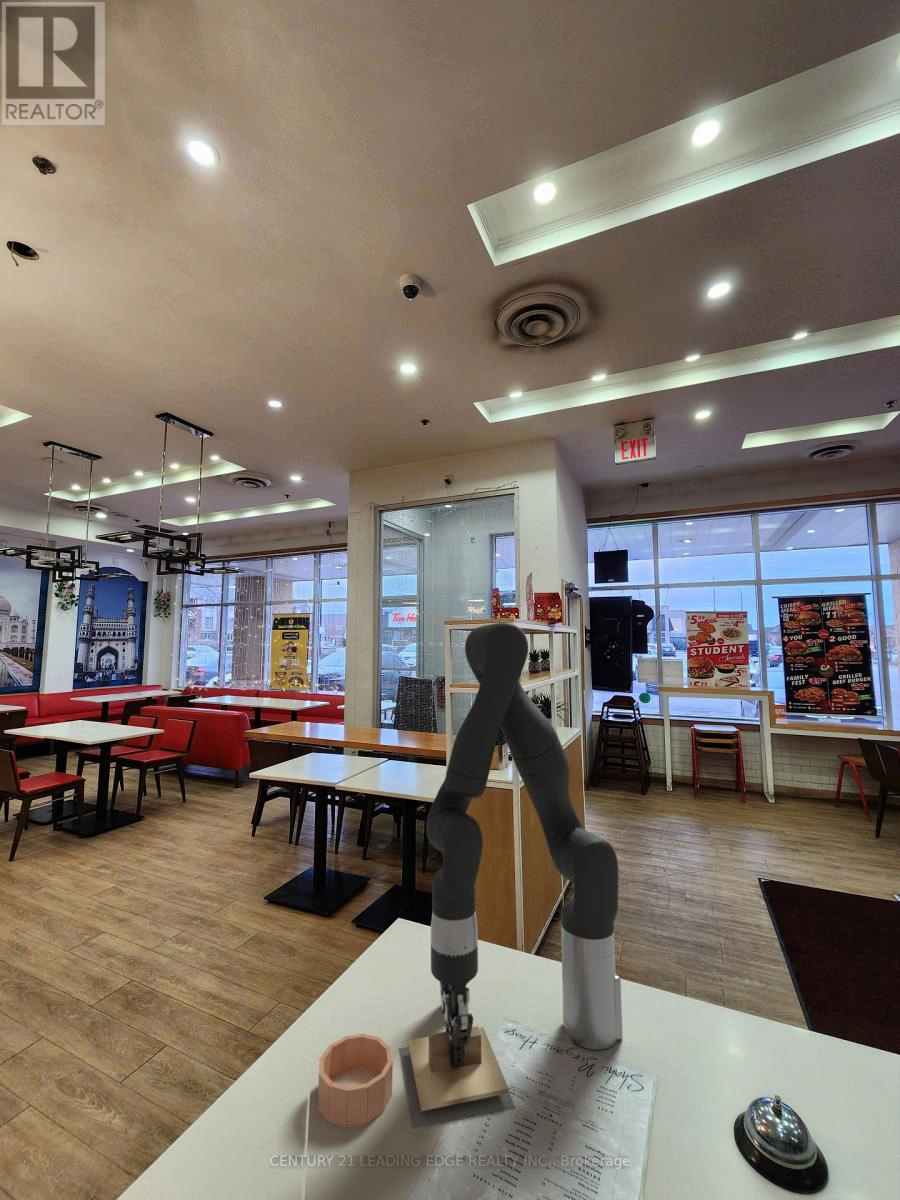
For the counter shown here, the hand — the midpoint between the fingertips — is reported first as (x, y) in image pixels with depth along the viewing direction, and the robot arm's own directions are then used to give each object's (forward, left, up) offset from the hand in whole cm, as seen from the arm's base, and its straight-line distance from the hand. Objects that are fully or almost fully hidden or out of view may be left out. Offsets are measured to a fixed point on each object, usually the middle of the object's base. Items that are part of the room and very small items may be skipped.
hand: (455, 1058), depth 79 cm
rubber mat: (0, 0, -3) cm, 3 cm away
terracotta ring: (+15, 0, -3) cm, 16 cm away
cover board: (0, 0, -1) cm, 1 cm away
